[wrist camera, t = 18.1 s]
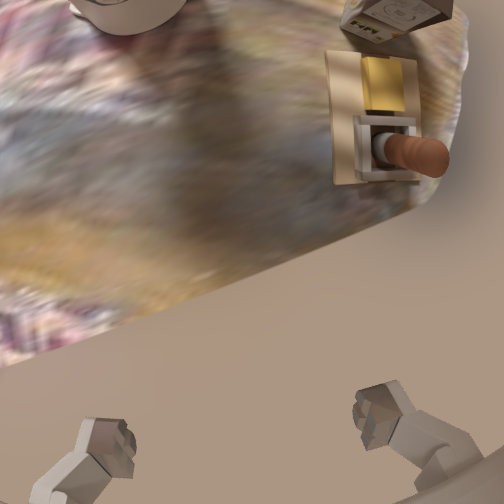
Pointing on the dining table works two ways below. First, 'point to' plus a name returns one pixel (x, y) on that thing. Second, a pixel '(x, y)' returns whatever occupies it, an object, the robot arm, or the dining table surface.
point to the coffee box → (392, 17)
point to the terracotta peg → (411, 153)
